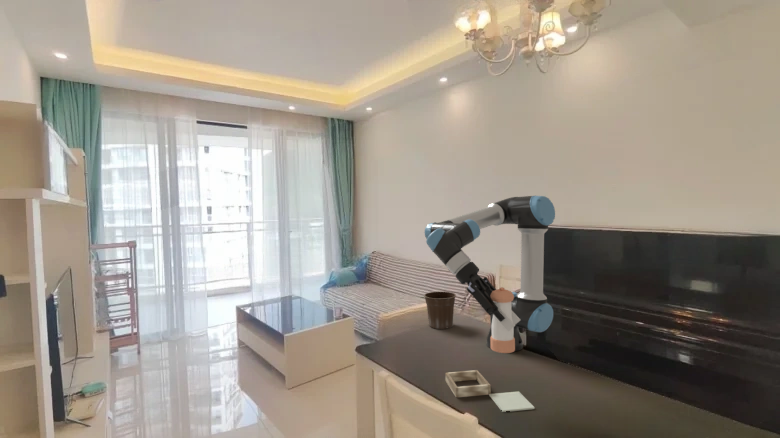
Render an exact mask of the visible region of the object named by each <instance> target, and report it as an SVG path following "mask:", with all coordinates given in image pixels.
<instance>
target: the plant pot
mask: <svg viewBox="0 0 780 438" xmlns="http://www.w3.org/2000/svg"><path fill="white" fill-rule="evenodd" d="M423 296H424V298H425V304H426V311H427V317H428V325H429V327H430V328H432V329H436V330H446V329H447V328H448V329H450V328H453V326H454V311H455V310H454V308H455V303H456V297H457V294H455V293H454V292H450V291H431V292H426V293H425V294H423Z"/></svg>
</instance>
